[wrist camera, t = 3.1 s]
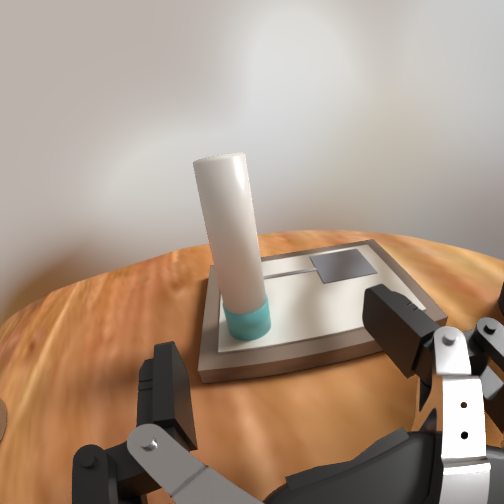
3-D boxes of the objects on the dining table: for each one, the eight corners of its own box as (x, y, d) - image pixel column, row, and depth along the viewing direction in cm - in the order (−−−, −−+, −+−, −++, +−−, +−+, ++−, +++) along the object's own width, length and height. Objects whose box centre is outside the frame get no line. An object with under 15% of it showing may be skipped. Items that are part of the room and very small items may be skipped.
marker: (228, 343, 21) (187, 166, 15) (228, 316, 24) (195, 159, 18) (273, 337, 21) (247, 156, 15) (268, 310, 24) (245, 150, 18)
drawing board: (203, 383, 19) (196, 368, 19) (213, 276, 34) (209, 263, 33) (443, 330, 19) (448, 313, 18) (372, 250, 34) (373, 237, 33)
